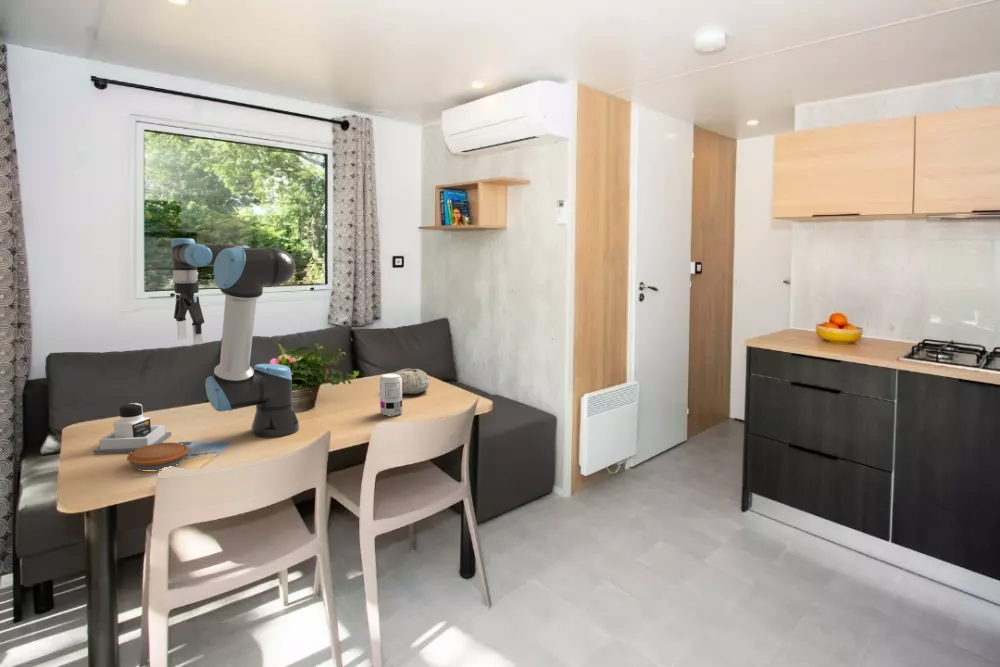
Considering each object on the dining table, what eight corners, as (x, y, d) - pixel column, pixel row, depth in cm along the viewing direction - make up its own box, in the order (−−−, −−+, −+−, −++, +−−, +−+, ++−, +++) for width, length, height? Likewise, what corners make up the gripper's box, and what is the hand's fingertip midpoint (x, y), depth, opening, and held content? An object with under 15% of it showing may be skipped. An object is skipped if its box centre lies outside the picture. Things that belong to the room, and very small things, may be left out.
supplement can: (376, 415, 217) (375, 376, 215) (388, 409, 225) (387, 372, 222) (394, 417, 214) (394, 378, 212) (406, 412, 222) (405, 374, 219)
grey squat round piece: (422, 398, 241) (422, 375, 240) (382, 396, 245) (381, 373, 243) (434, 388, 259) (434, 367, 257) (397, 386, 262) (396, 365, 260)
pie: (116, 467, 164) (115, 450, 163) (171, 451, 177) (170, 436, 176) (145, 479, 156) (144, 462, 155) (200, 461, 169) (199, 445, 168)
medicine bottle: (134, 445, 178) (131, 408, 176) (114, 444, 180) (111, 407, 178) (152, 438, 185) (149, 402, 183) (133, 436, 186) (130, 401, 185)
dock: (171, 435, 192) (170, 423, 191) (150, 451, 176) (149, 439, 175) (118, 437, 189) (117, 425, 188) (93, 454, 173) (92, 441, 173)
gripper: (212, 283, 199) (216, 343, 202) (183, 280, 215) (187, 335, 218) (189, 284, 193) (193, 346, 196) (161, 280, 209) (165, 338, 212)
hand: (190, 340), depth 207 cm, fingers open, 13 cm apart
